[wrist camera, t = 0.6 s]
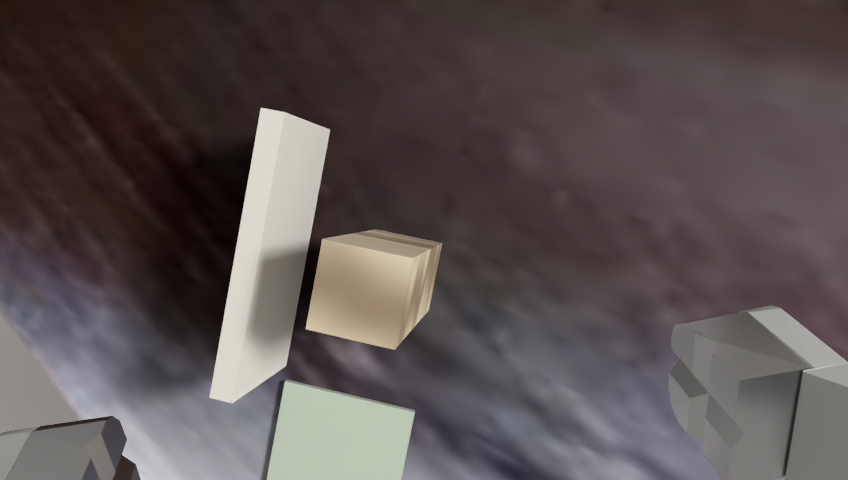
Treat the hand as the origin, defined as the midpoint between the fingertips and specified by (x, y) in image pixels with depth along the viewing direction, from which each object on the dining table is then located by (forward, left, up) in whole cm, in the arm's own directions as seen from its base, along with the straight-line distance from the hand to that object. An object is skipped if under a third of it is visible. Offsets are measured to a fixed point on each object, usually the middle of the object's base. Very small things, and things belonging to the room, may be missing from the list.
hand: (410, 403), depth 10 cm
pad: (+18, -8, -40) cm, 45 cm away
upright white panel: (+3, -14, -40) cm, 43 cm away
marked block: (+3, -6, -40) cm, 41 cm away
